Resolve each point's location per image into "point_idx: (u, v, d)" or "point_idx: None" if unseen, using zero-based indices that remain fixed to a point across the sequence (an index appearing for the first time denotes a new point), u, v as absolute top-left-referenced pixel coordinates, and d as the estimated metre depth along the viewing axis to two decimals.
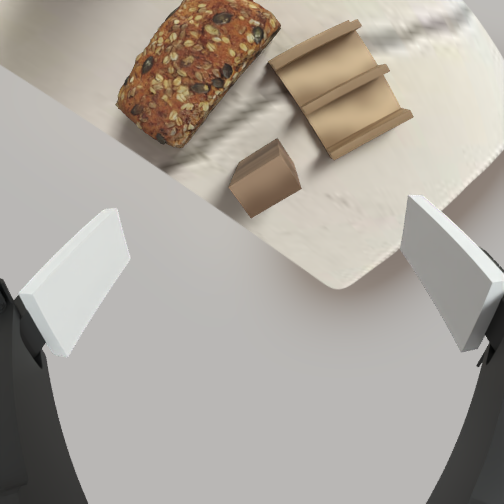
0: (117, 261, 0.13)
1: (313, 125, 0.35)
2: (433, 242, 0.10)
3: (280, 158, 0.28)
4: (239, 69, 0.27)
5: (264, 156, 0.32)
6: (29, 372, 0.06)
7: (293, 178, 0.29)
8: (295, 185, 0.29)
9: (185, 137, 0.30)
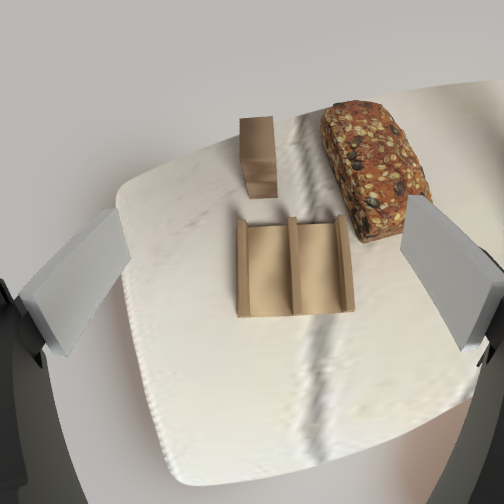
0: (117, 261, 0.13)
1: (273, 227, 0.41)
2: (432, 242, 0.10)
3: (272, 155, 0.33)
4: (352, 177, 0.35)
5: None
6: (29, 372, 0.06)
7: (251, 157, 0.33)
8: (245, 155, 0.33)
9: (327, 118, 0.37)
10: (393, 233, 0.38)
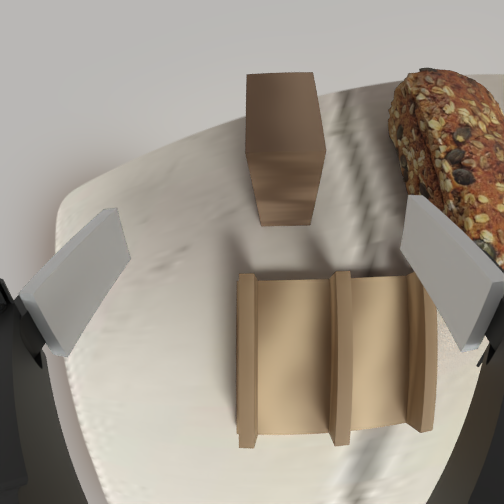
0: (117, 261, 0.13)
1: (303, 282, 0.23)
2: (433, 242, 0.10)
3: (319, 148, 0.14)
4: (451, 196, 0.17)
5: None
6: (29, 372, 0.06)
7: (272, 149, 0.14)
8: (257, 146, 0.15)
9: (411, 87, 0.18)
10: None
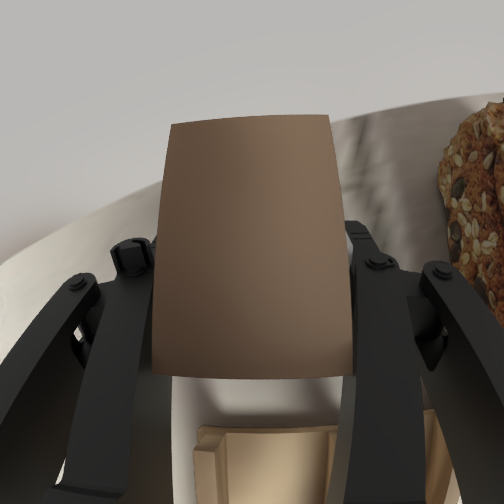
0: None
1: (291, 436, 0.14)
2: None
3: (337, 370, 0.05)
4: None
5: None
6: None
7: (214, 372, 0.06)
8: (179, 360, 0.06)
9: (493, 126, 0.10)
10: None
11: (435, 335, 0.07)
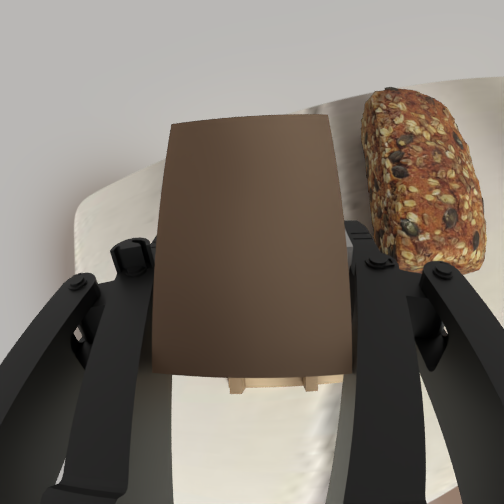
0: None
1: None
2: None
3: (337, 368, 0.05)
4: (389, 186, 0.24)
5: None
6: None
7: (214, 370, 0.06)
8: (179, 359, 0.06)
9: (373, 102, 0.26)
10: None
11: (435, 335, 0.07)
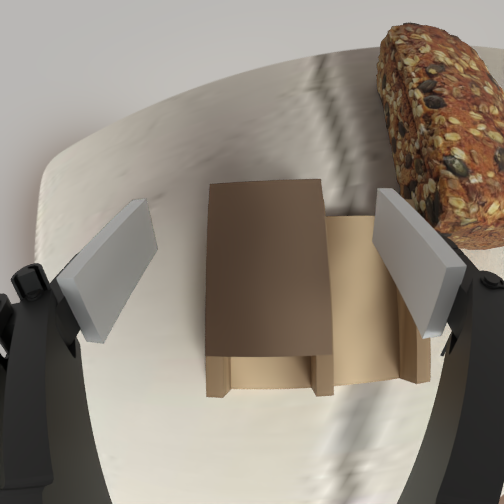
0: (146, 250, 0.13)
1: None
2: (397, 232, 0.11)
3: (322, 351, 0.09)
4: (422, 120, 0.16)
5: None
6: (62, 362, 0.06)
7: (246, 352, 0.09)
8: (223, 346, 0.09)
9: (392, 35, 0.18)
10: (466, 244, 0.19)
11: None
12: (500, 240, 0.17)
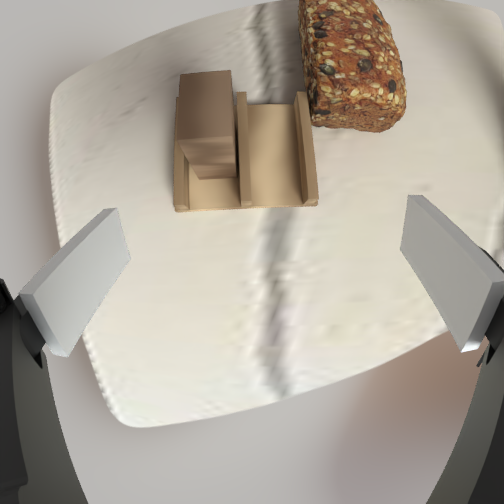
0: (117, 261, 0.13)
1: None
2: (432, 242, 0.10)
3: (227, 134, 0.20)
4: (312, 45, 0.26)
5: None
6: (29, 372, 0.06)
7: (194, 137, 0.20)
8: (184, 135, 0.20)
9: None
10: (351, 123, 0.30)
11: None
12: (377, 121, 0.29)
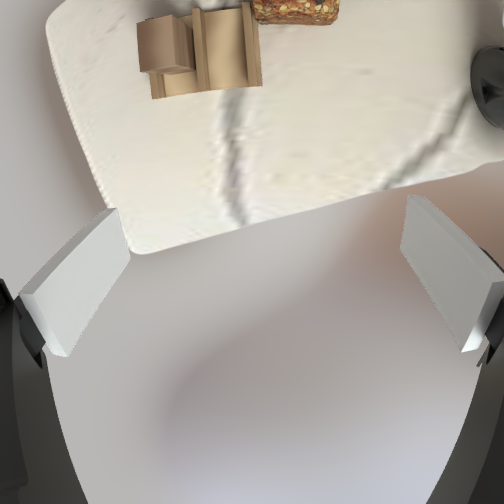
0: (117, 261, 0.13)
1: (183, 17, 0.31)
2: (432, 242, 0.10)
3: (172, 64, 0.26)
4: None
5: (184, 52, 0.28)
6: (29, 372, 0.06)
7: (151, 68, 0.26)
8: (145, 67, 0.26)
9: None
10: (293, 22, 0.30)
11: None
12: (314, 21, 0.29)
